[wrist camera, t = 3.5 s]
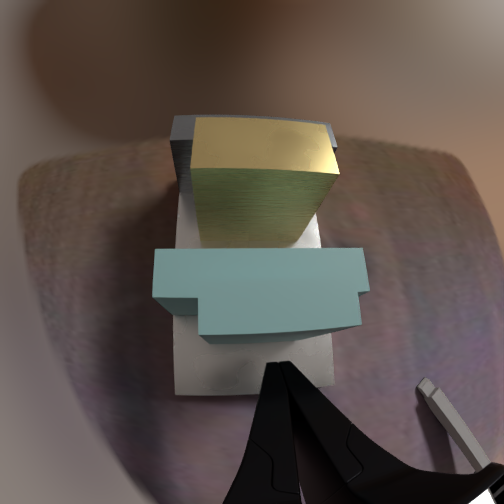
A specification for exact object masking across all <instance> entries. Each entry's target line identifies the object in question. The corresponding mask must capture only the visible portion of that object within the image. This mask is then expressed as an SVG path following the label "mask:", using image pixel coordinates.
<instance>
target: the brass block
mask: <svg viewBox="0 0 504 504" xmlns="http://www.w3.org/2000/svg"><path fill="white" fill-rule="evenodd" d="M190 170H191V179H192V186H193V194H194V201H195V209H196V216H197V223H198V229H199V236H200V241H298V240H299V238H300V237H301V235H302V233H303V232H304V230H305V229H306V227H307V226H308V224H309V222H310V221H311V219H312V218H313V216H314V215H315V213H316V211H317V210H318V208H319V207H320V205H321V203H322V202H323V200H324V199H325V197H326V195H327V194H328V192H329V190H330V189H331V187H332V186H333V184H334V182H335V181H336V179H337V177H338V176H339V170H338V166H337V163H336V159H335V156H334V152H333V149H332V145H331V142H330V139H329V135H328V132H327V129H326V126H325V125H322V124H314V123H306V122H297V121H286V120H274V119H259V118H234V117H196V121H195V129H194V138H193V146H192V156H191V166H190Z"/></svg>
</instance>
